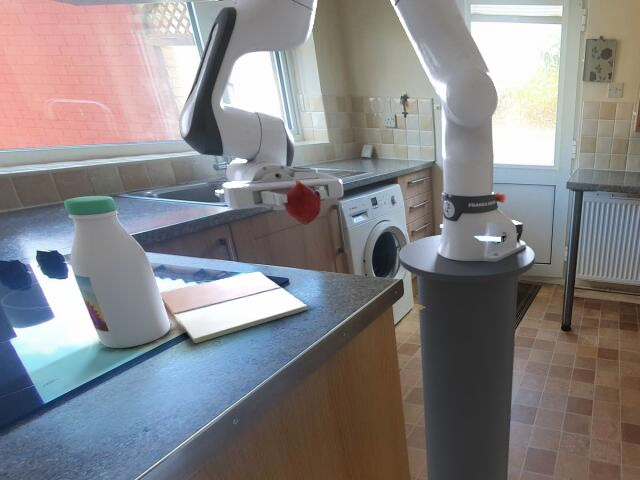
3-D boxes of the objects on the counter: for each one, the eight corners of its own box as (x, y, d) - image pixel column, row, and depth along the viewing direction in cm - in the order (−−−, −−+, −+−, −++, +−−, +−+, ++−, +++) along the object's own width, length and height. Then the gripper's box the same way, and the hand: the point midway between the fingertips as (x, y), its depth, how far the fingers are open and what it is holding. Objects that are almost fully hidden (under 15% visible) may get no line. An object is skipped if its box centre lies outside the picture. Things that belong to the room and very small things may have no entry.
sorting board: (259, 275, 83) (258, 270, 82) (308, 309, 69) (307, 305, 69) (159, 297, 71) (157, 292, 71) (194, 343, 58) (193, 338, 58)
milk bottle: (178, 320, 64) (139, 192, 56) (160, 344, 58) (112, 203, 50) (116, 327, 61) (65, 193, 54) (90, 353, 55) (27, 205, 47)
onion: (325, 220, 78) (320, 177, 75) (320, 228, 73) (314, 182, 70) (292, 221, 77) (285, 177, 74) (284, 229, 72) (277, 182, 68)
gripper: (207, 174, 72) (234, 185, 64) (321, 167, 86) (355, 175, 78) (215, 209, 75) (242, 224, 66) (325, 197, 89) (358, 208, 81)
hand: (304, 198), depth 72 cm, fingers closed on onion, 5 cm apart
